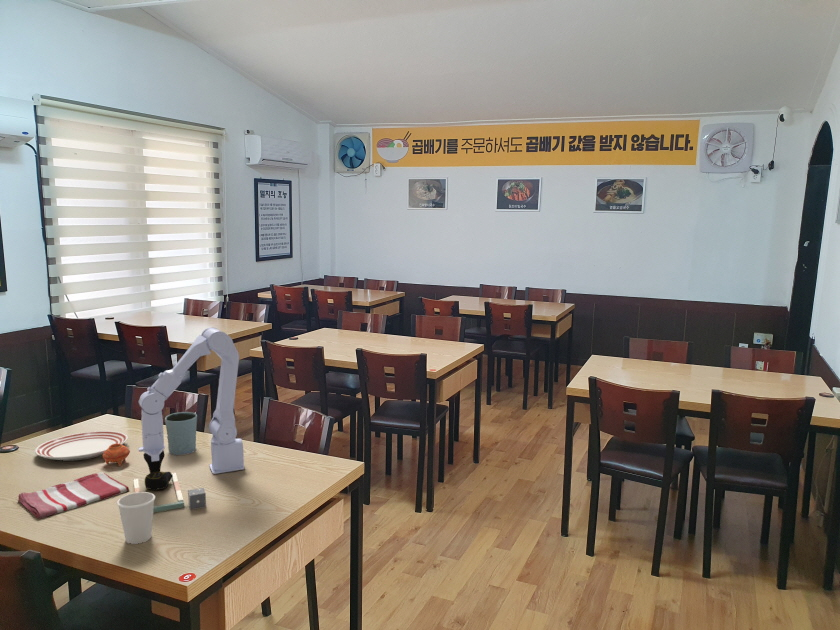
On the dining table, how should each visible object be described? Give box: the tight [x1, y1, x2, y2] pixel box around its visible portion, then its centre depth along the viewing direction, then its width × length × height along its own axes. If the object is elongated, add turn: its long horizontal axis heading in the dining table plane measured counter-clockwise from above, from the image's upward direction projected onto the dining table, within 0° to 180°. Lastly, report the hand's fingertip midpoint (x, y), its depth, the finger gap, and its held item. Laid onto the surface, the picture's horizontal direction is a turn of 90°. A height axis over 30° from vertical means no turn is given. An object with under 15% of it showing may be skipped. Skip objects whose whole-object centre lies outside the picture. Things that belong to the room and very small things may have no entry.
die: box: [187, 487, 207, 511], centre depth 170 cm, size 4×4×4 cm
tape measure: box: [144, 471, 173, 491], centre depth 181 cm, size 7×7×4 cm
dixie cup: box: [116, 491, 156, 545], centre depth 151 cm, size 8×8×10 cm
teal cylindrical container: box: [164, 411, 198, 456], centre depth 210 cm, size 10×10×12 cm
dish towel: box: [17, 471, 130, 520], centre depth 175 cm, size 17×23×3 cm
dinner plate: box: [34, 430, 129, 462], centre depth 210 cm, size 28×27×3 cm
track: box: [133, 472, 185, 514], centre depth 176 cm, size 12×23×1 cm, turn 26°
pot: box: [102, 444, 131, 467], centre depth 199 cm, size 8×8×7 cm
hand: (155, 476), depth 185 cm, fingers closed
